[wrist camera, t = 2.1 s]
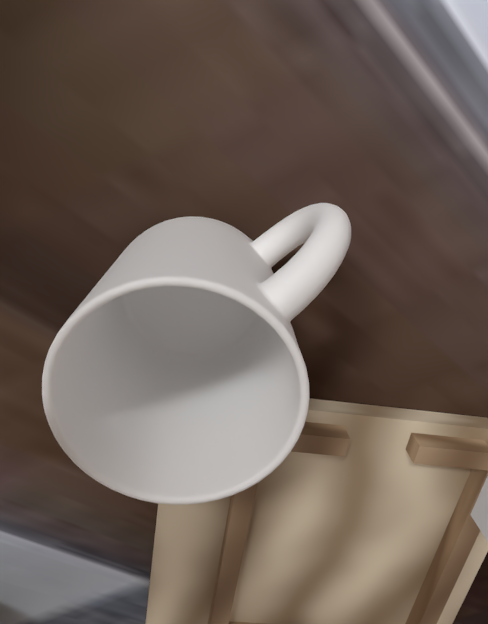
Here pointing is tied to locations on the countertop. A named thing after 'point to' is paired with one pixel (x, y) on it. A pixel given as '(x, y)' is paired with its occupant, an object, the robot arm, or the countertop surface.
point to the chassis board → (334, 528)
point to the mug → (192, 357)
